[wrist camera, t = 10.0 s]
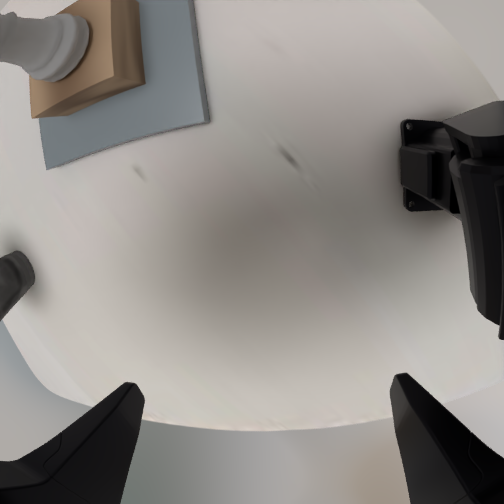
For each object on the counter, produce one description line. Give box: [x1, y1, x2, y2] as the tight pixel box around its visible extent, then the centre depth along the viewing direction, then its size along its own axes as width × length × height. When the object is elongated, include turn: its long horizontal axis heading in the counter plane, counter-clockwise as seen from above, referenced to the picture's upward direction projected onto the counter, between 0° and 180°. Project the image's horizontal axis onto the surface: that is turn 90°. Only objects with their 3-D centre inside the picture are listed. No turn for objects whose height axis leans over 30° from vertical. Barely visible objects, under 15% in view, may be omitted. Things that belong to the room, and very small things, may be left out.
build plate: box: [39, 0, 210, 170], centre depth 15 cm, size 14×14×2 cm
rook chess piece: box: [0, 12, 89, 82], centre depth 7 cm, size 4×4×8 cm
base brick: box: [29, 0, 146, 119], centre depth 12 cm, size 7×7×4 cm
